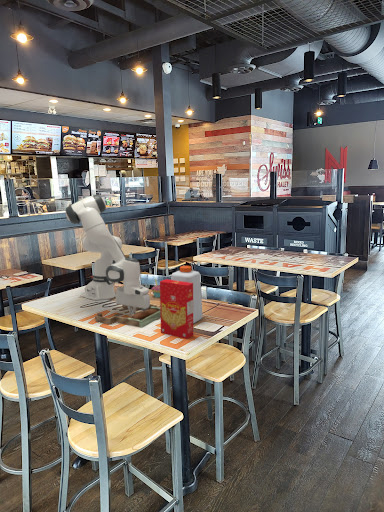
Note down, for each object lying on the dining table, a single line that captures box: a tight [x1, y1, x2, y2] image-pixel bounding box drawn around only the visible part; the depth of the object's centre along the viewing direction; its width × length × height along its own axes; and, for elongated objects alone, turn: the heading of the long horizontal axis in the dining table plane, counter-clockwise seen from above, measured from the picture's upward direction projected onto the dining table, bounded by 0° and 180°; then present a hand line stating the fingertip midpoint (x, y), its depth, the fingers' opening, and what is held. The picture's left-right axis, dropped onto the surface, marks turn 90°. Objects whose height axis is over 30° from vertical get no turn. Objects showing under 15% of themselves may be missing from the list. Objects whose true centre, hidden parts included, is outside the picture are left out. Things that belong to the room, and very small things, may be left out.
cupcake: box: [150, 277, 160, 298], centre depth 242 cm, size 9×8×12 cm
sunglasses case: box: [126, 309, 158, 320], centre depth 201 cm, size 18×7×7 cm
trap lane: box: [94, 303, 161, 328], centre depth 204 cm, size 28×30×3 cm
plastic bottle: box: [170, 265, 204, 325], centre depth 198 cm, size 15×15×28 cm
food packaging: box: [159, 278, 194, 340], centre depth 178 cm, size 15×5×25 cm, turn 58°
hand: (132, 314), depth 204 cm, fingers closed
